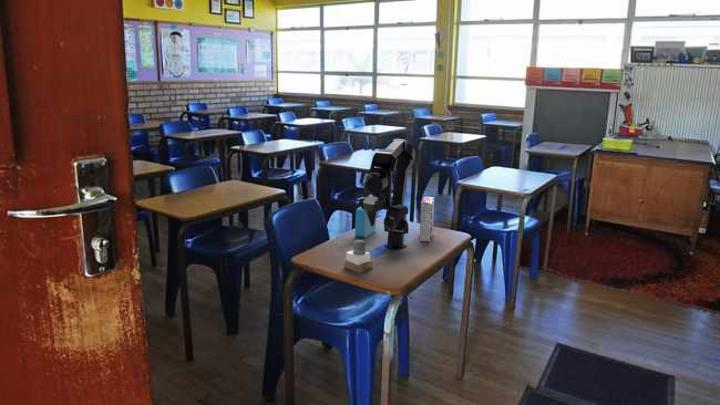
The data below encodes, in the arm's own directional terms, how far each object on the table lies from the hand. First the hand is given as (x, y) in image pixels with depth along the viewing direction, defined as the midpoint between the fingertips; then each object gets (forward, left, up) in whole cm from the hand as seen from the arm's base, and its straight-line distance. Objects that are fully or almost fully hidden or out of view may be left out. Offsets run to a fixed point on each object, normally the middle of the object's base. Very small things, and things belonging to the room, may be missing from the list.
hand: (382, 229), depth 191 cm
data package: (-21, -26, -13) cm, 35 cm away
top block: (+10, -2, -10) cm, 14 cm away
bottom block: (+10, -2, -13) cm, 16 cm away
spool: (+9, -2, -7) cm, 12 cm away
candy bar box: (-36, -5, -13) cm, 38 cm away
